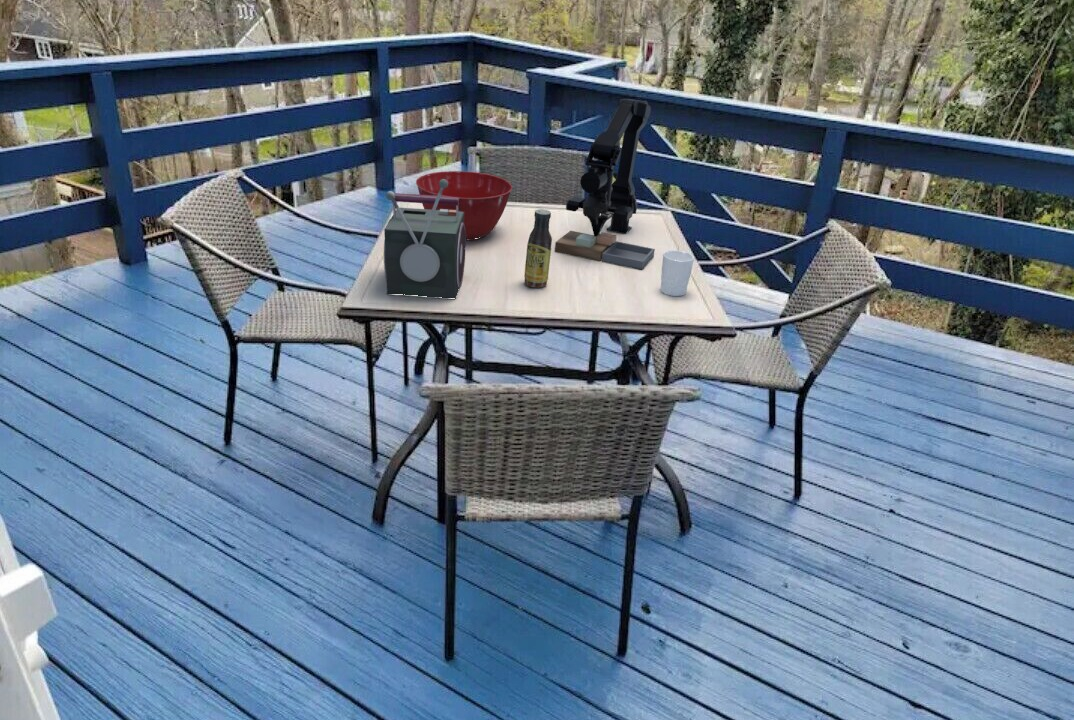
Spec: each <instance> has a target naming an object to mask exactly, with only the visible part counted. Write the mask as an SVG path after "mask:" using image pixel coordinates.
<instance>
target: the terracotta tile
mask: <svg viewBox="0 0 1074 720" xmlns="http://www.w3.org/2000/svg"><path fill="white" fill-rule="evenodd" d="M615 241H617V234H616V233H615V234H614V233H609V232H604V231H601V232H600V234H599V235H598V236H597V237H596V243H599V244H605V245H610V246H611V245H612V244H613V243H614V242H615Z"/></svg>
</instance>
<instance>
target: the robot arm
mask: <svg viewBox="0 0 1074 720" xmlns="http://www.w3.org/2000/svg"><path fill="white" fill-rule="evenodd" d="M651 111H652V108H651V105H649V103H648V101H646V100H639V99H632V98H622V99H619V102H618V104H617V109H616V111H615V112H614V114H613V116H612V118H611V120H610V122H609V124H608V126H607V128H606V130H605V131H603V132H601V133H599V134H598V135H597V137H596V138H595V139H594V141H593V142H592V143H591V145H590V146H591V147H590V148H589V152H588V155H587V159H586V161H585V165H586V166H589V167H588V170H587V172H585V173H583V175H582V176H581V178H580V182H579V183H580V187H581V189H582V190H583V191H584V192H586V193H588V196H587V197H586V198H583V197H579V196H572V197H571V198H570V199H568V200H567V201H566V203H565V210H566V211H570V212H577V211H578V210H579V209H582V214H583V216H584V217H586V218H587V219H589V222H590V224H591V228H592V233H593V235H594V236H596V237H597V236H598V235H599V234H600V233H601V232H602V229H603V228H604V226H605V224H606V222H607V221H608V220H610V225H609V226H608V227H607V228H606V231H611V232H616V233H620V234H627V233H628V232H630V230H631V229H632V228H633V227H632V226H629V225H630V224H629V223H630V220H631V218H632V217H633V215H637V212H638V211H637V209H638V202H637V198H636V195H635V192H636V189H635V186H634V184H633V181H632V179H633V174H634V168H635V162H636V156H637V150H638V143H639V138H640V133H641V131H642V130H643V129H644V127H645V126H646V125H647V123H648V120H649V118H650V117H651V116H650V115H651ZM621 140H622V143H621ZM618 163H619V164H618ZM617 165H618V168H617V174H616V179H615V180H614V178H613V177H614V169H615V167H616V166H617ZM613 180H614V181H613Z"/></svg>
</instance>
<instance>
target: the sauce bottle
mask: <svg viewBox="0 0 1074 720" xmlns="http://www.w3.org/2000/svg"><path fill="white" fill-rule="evenodd" d="M551 218H552V212H551V211H550V210H548V209H541V208H539V209H536V210H535V211H534V225H533V229H532V230H531V232H530V233H529V237H528V242H527V245H526V254H525V255H526V257H525V264H524V284H525V286H528V287H530V288H535V289H540V288H544V287H546V286H547V283H548V280H549V274H550V273H549V272H550V263H551V254H552V243H553V242H552V241H553V237H552V235H551V231H550V230H549V229H550V219H551Z"/></svg>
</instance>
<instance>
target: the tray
mask: <svg viewBox="0 0 1074 720" xmlns="http://www.w3.org/2000/svg"><path fill="white" fill-rule="evenodd" d="M655 251H656V250H655V248H651V247H647V246H642V245H636V244H632V243H627V242H621V241H617V240H616V241H615V242H614V243H613V244H612V245H611V246H610V247H609V248H608V249H607V250H606V251H605V252H604V253H603V254H602V260H601V262H602V263H606V264H611V265H615V266H620V267H625V268H629V269H635V270H639V271H643V270H644V269H645V267H646V266H648V264H649V263H650V261H652V260H653V259H654V257H655Z"/></svg>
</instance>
